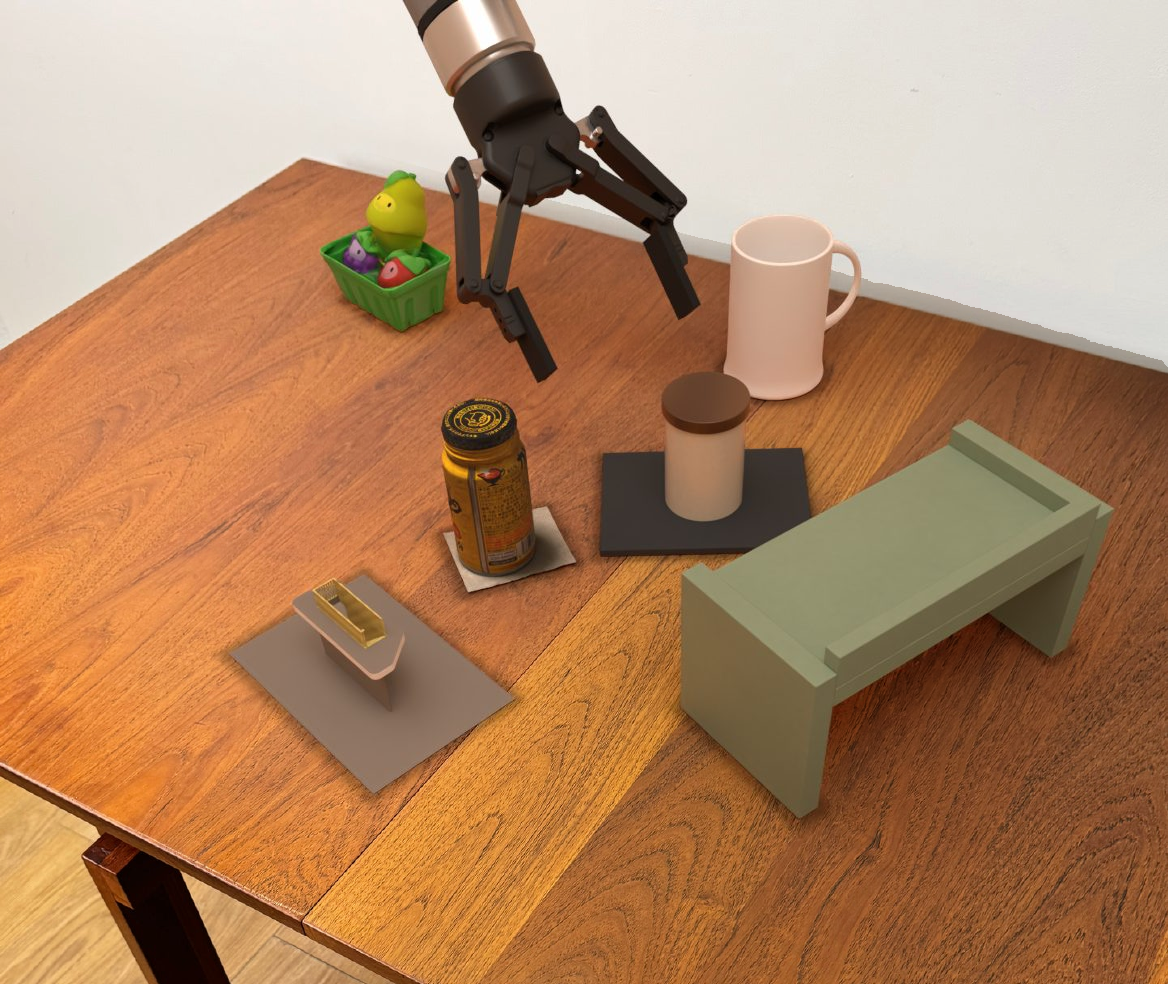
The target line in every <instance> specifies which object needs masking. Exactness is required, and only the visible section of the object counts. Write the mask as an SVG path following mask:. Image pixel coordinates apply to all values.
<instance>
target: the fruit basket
mask: <svg viewBox="0 0 1168 984" xmlns="http://www.w3.org/2000/svg"><path fill="white" fill-rule="evenodd" d="M416 179H417V175H416V174H415V173H413V172H409V173H407V172H406V171H405V170H402V169H398V170H394V171H393V172H391V173H390V174H389V176H388V177H387V179H386V181H385V183H384V185H383V190H381V191H380V192H379V193H378V194H377V195H375V196H374V197H373V199H372V200H371V201H370V203H369V205H368V206H367V208H366V212H365V217H366V220H367V222H368V224H369V225H367V226H365V227H362V228H360V229H357V230H354V231H353V232H350V233H348V234H345V235H343V236H341V237H339V238H337V239H335V240H331V241H330V242H328V243H327V244H325V245H323V246H321V247H320V248H319V250H318V251H319V254H320V256H321V257H322V259H323V261H324V262H325V263H326V264H327V266H328V267H329V270H330V271H331V273H332V275H333V277H334V279H335V281H336V283H337V285H338V286H339V288H340V290H341V293H342V294H343V296H344V299H345V300H347V301H348V302H350V303H352V304H353V305H357V306H358V307H359V308H360V309H362V310H363V311H364V312H367V313H368V314H371V315H374V317H375V318H377V319H379V320H380V321H382V322H383V323H386V324H389V325H390V326H391V327H392V328H393V329H395V330H396V331H398V332H400V333H401V332H404V331H406V330H407V329H408V328H409V327H412V326H415V325H418V324H420V323H421V322H424V321H425V320H428V319H430V318H431V317H432V316H433V315H434V314H438V313H441V312H443V310H444V305H445V296H446V288H447V280H448V272H449V271H450V266H451V261H452V258H451V255H449V254H447V253H445V252H443V251H441V250H439V249H437V248H436V247H434V246H432V245H431V244H428V243H427V242H426V241H424V239H425V237H426V234H427V230H428V215H427V211H426V193H425V190H424V188H423V187H422V186H421V184H420V183H419V182H418V181H417V180H416Z"/></svg>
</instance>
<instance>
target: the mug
mask: <svg viewBox="0 0 1168 984" xmlns="http://www.w3.org/2000/svg"><path fill="white" fill-rule="evenodd" d="M834 254H839V255H843V256H844V257H847V259H849V260H850V262H851V263H852V267H853V281H852V284H851V285H852V286H851V287H850V290H849V293H848V294H847V296H846V298H845V299H844V301H843V302H842V303H841V304H840V306H839V307H837V308H836V310H835V311H833V312H832V313H830V314H829V315H827V313H828V302H829V293H830V283H831V275H832V274H831V273H832V265H833V255H834ZM729 264H730V268H729V290H728V291H729V294H728V296H729V297H728V320H727V342H726V343H727V344H726V345H727V346H726V355H725V357H726V358H725V361H724V364H723V373H724V374H727V375H730V376H733V377H735V378H737V379H738V380H740V381H741V382H743V383H744V384H745V385H746V387H747V388H748V390H749V392H750V398H753V399H758V400H765V401H782V400H783V401H784V400H789V399H790V400H791V399H794V398H798V397H801V396H803V395H805V394H808V393H810V392H811V391H813V390H814V389H815V388H816V387H817V386H818V385H819V384H820V382H821V381H822V379H823V376H824V363H823V351H824V342H825V341H824V340H825V331H827V330H829V329H831V328H832V327H833V326H834V325H836V324H837V323H838V322H839V321H841V320H842V318H843V317H844V316H845V315H846V314H847V313H848V312H849V311H850V309H851V307H852V306H853V305H854V302H855V300H856V299H857V296H858V294H859V290H860V288H861V283H862V265H861V261H860V259H859V257H858V255H857V253H856V251H854V249H853V248H852V247H851V246H850V245H849V244H847V243H845V242H843V241H841V240H838V239H835V238H834V234H833V231H831V229H830V228H829V227H828V226H827V225H825V224H824V223H822V222H820V221H818V220H816V219H813V218H810V217H807V216H804V215H797V214H787V213H785V214H784V213H777V214H769V215H768V214H767V215H763V216H759V217H755V218H752V219H750V220H748V221H746V222H744V223H742V224H741V225H739V226H738V227H737V228H736V229H735V230H734V232H733V233H732V236H731V242H730V263H729Z"/></svg>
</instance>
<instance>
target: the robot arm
mask: <svg viewBox="0 0 1168 984" xmlns="http://www.w3.org/2000/svg"><path fill="white" fill-rule="evenodd" d="M402 2H403V4H404V6H405V8H406V10H407V12H408V14H409V16H410V18H411V20H412V22H413V24H414V27H415V28H416V30H417V35H418V36H419V38H420V41H421V44H422V45H423V47H424V49H425V51H426V53H427V55H428V58H429V60H430V62H431V64H432V66H433V68H434V70H435V73H436V74H437V76H438V79H439V81H440V83H441V85H442V87H443V90H444V91H445V93H446V94H447V95H448V97H451V98H453V103H452V108H453V110H454V113H455V115H456V117H457V119H458V121H459V123H460V126H461V127H462V129H463V132H464V134H465V136H466V138H467V140H468V142H469V145H470V146H471V147H472V148H473V149H474V150H475V153H476V155H477V158H473V159H467V158H466V157H464V156H461V155H459V156H457V157H455V158H454V159H453V161H452V162H451V165H450V166H449V168H448V170H447V171H446V174H445V175H444V181H445V184H446V187H447V190H448V193H449V195H450V197H451V201H452V203H453V224H454V227H453V228H454V253H455V254H454V255H455V280H456V281H455V282H456V283H455V284H456V299H457V300H458V302H459V303H461V304H462V305H466V306H467V305H469V304H471V303H478V304H479V305H480V306H481V307H482V308H484V309H489V310H490V312H491V314H492V316H493V318H494V321H495V322H496V325H497V326H498V328H499V330H500V333H501V335H502V337H503V338H504V340H505V341H506V342H507V343H508V344H512V343H514V342H516V343H517V345H518V346H519V348H520V351H521V352H522V355H523V357H524V359H525V361H526V363H527V365H528V367H529V369H530V372H531V373H532V376H533V377H534V379H535V381H536V383H537V384H539V383H542V382H544V381H546V380H547V379H548V378H549V377H550V376H551V375H553V374H554V373H555V372H556V371H558V370H559V368H558V366H557V363H556V362H555V360H554V357H553V355H552V353H551V351H550V349H549V347H548V345H547V343H546V341H545V339H544V336H543V335H542V332H541V331H540V328H539V326H538V324H537V322H536V320H535V318H534V316H533V314H532V312H531V310H530V308H529V306H528V304H527V301H526V298H525V297H524V295H523V292H522V291H521V289H520V287H519V285H518V286H515V287H513V288H510V289H509V290H507V284H508V280H509V276H510V271H511V265H512V261H513V255H514V251H515V246H516V241H517V236H518V231H519V228H520V227H519V226H520V221H521V216H522V211H523V207H524V206H528V209H530V208H533V207H535V206H538V205H539V204H540V203H542V201H544V200H545V199H556V198H558V197H560V196H563V195H564V194H565V192H566V191H569V192H571V193H573V194H575V195H578V196H581V195H582V196H584V197H587V198H588V199H589V200H592V201H593V202H594V203H597V204H598V205H600V206H601V207H603V208H604V209H606V210H608V211H610V212H611V213H613V214H615V215H616V216H617V217H619V218H621V219H623V220H625V221H626V222H627V223H629V224H631V225H633V226H635V227H636V228H638V229H640V230H641V231H643V232H644V233H646V234H648V235H649V236H648V237H647V238H646V239H645V240H644V241H643V242H642V245H643V246H644V249H645V251H646V253H647V255H648V257H649V260H650V262H651V265H652V266H653V269H654V271H655V272H656V275H657V278H658V279H659V281H660V284H661V286H662V289H663V290H664V292H665V294H666V296H667V299H668V301H669V303H670V305H671V307H672V309H673V312H674V314H675V316H676V319H677V320H678V321H680V320H682V319H684V318H686V317H687V316H689V315H691V314H692V312H694V311H695V310H696V309H697V308H699V307H701V305H702V303H701V301H700V299H699V296H698V294H697V292H696V290H695V288H694V286H693V284H692V281H691V279H690V277H689V275H688V273H687V270H686V268H685V266H686V265H688V264H689V257H688V256H689V255H688V254H687V252H686V249H685V247H684V245H683V243H682V241H681V238H680V236H679V234H678V232H677V230H676V227H675V224H674V223H675V222H674V221H675V218H677V216H678V215H679V214H680V213H681V211H682V210H683V209H684V208H685V207H686V206H687V205H688V197H687V196H686V194H685V193H684V192H683V191H681V190H680V188H679V187H677V186H676V185H675V183H674V182H673V181H671V180H670V179H669V178H668V177H667V176H666V175H665V174H664V173H663V172H662V171H661V170H660V169H659V168H658V167H656V165H655V164H653V162H652V161H650V159H648V158H647V157H646V156H645V155H644V154H643V153H642V152H641V151H640V150H639V149H638V148H637V147H636V146H635V145H634V144H633V143H632V142H631V141H630V140H628V138H627V137H626V136H625V135H624V134H622V132H621V131H619V129H618V127H617V126H616V124H615V122H614V120H613V118H612V117H611V116H610V114H609V112H608V110H607V108H605V107H604V106H603V105H599V104H598V105H596V106H595V107H594V108H593V109H592V110H591V111H590V113H589V114H588V115H587V116H585V117H583V118H581V119H579V120H577V121H575V122H574V121H572V119H570V118H569V116H568V114H567V113H566V112H565V110H564V107H563V103H562V99H561V95H560V92H559V90H558V87H557V86H556V83H555V81H554V80H553V77H552V74H551V73H550V71H549V68H548V67H547V64H546V62H545V60H544V57H543V56H542V54H540V53H539V52H536V51H535V49H536V46H537V45H536V39H535V37H534V35H533V33H532V30H531V28H530V27H529V25H528V23H527V21H526V19H525V16H524V14H523V12H522V10H521V8H520V6H519V3H518V2H517V0H402ZM581 142H582V143H583V145H584V148H586V149H592V150H593V152H594V153H595V154H596V156H597V157H598V159H600V160H601V162H603V164H605V165H606V166H607V167H608V168H609V169H610V170H612V172H613V173H614V174H613V173H612V172H610V171H608V170H607V169H605V168H603V167H602V166H601V164H600V162H599V160H597V159H596V158H595V157H593V156H591V155H590V154H588V153H586V152H585V151H583V150H581V149H580V145H581ZM577 171H578V172H580V173H577ZM482 178H483V179H484V180H485V181H486V182H488V183H489V184H490V185H492V186H493V187H494V188H496V189H497V190H499V191H500V193H499V199H498V204H497V207H496V212H495V216H496V219H495V225H494V229H493V233H492V239H491V245H490V249H489V254H488V259H487V264H486V268H485V273H484V278H482V253H481V252H482V249H481V225H480V224H481V223H480V221H481V220H480V219H481V218H480V197H479V196H480V195H479V189H480V187H481V186H482Z"/></svg>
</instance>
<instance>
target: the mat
mask: <svg viewBox="0 0 1168 984" xmlns="http://www.w3.org/2000/svg"><path fill="white" fill-rule="evenodd" d="M601 479H602V480H601V509H600V510H601V511H600V536H599V537H600V538H599V556H600V557H633V556H635V557H637V556H678V555H680V556H681V555H718V554H719V555H722V554H746V553H748V552H750V551H752V550H754V549H755V548H757V547H759V546H761V545H763V544H765V543H767V542H768V541H770V540H772V539H774V538H776V537H778V536H780V535H781V534H783V533H785V532H787V531H789V530H791V529H792V528H794V527H796V526H798V525H800V524H802V523H804V522H805V521H807V520H809V519H811V518H812V513H811V506H810V497H809V489H808V482H807V474H806V467H805V458H804V451H803V447H775V448H774V447H773V448H772V447H771V448H745V458H744V477H743V496H742V502H741V504H740V506H739V507H738V509H737V510H736V511H734V512H733V513H732V514H730V515H729V516H727V517H724V518H722V519H718V520H714V521H693V520H688V519H685V518H682V517H680V516H678V515H676V514H675V513H674V512H672V511H671V510H670V508H669V507H668V506H667V504H666V501H665V450H663V451H631V452H630V451H629V452H627V451H625V452H603V453H602V477H601Z"/></svg>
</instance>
